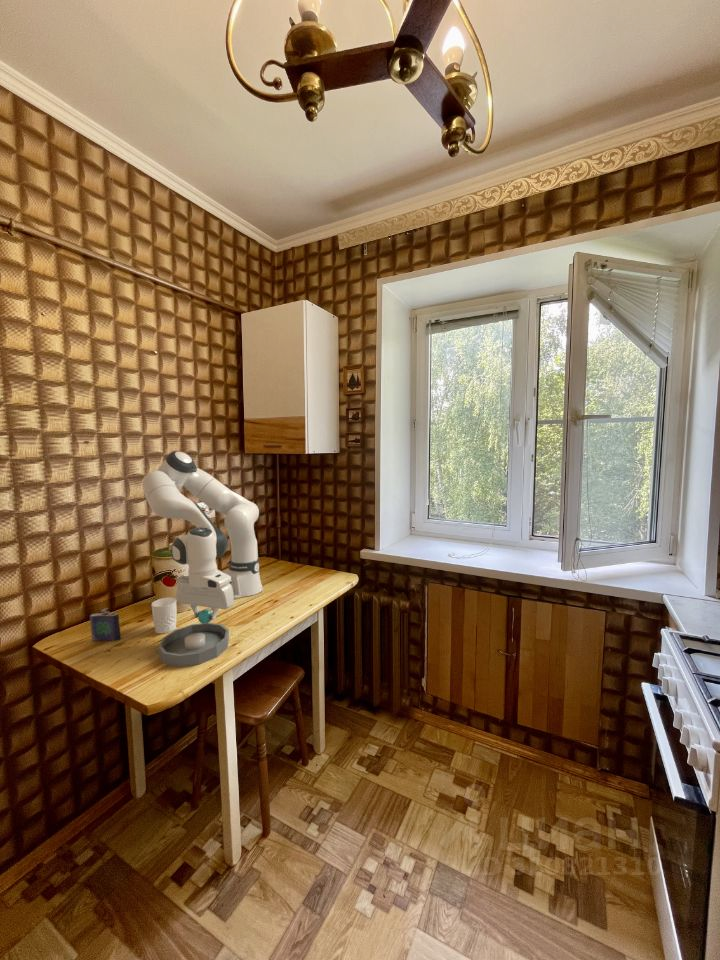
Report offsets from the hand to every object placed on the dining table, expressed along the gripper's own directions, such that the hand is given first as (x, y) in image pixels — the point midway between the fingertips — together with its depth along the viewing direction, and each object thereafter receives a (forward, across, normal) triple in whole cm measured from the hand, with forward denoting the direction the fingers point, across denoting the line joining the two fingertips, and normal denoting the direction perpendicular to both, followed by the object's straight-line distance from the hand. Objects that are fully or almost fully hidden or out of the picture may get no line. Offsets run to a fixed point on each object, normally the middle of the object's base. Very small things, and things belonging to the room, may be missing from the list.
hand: (205, 617), depth 127 cm
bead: (-1, 0, 0) cm, 1 cm away
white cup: (+8, -19, +2) cm, 20 cm away
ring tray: (+7, 0, -6) cm, 9 cm away
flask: (+8, -33, -9) cm, 35 cm away
